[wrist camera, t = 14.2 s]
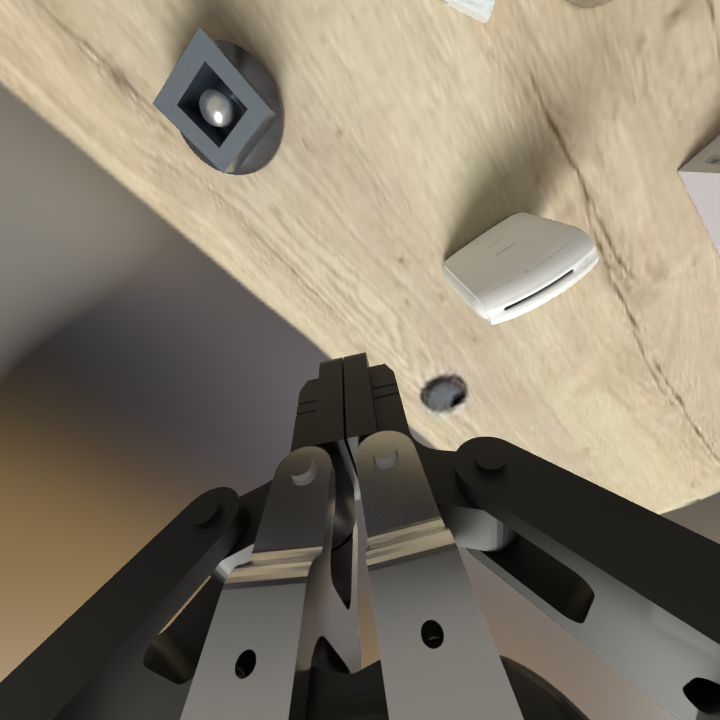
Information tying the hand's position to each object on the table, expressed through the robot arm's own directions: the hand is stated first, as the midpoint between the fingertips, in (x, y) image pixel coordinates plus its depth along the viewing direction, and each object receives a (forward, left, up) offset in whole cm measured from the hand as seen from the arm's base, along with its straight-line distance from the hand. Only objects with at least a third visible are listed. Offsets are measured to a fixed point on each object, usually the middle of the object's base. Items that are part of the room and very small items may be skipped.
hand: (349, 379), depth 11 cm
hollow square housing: (+7, -11, -26) cm, 29 cm away
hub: (+7, -11, -27) cm, 30 cm away
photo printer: (-15, +6, -27) cm, 32 cm away
